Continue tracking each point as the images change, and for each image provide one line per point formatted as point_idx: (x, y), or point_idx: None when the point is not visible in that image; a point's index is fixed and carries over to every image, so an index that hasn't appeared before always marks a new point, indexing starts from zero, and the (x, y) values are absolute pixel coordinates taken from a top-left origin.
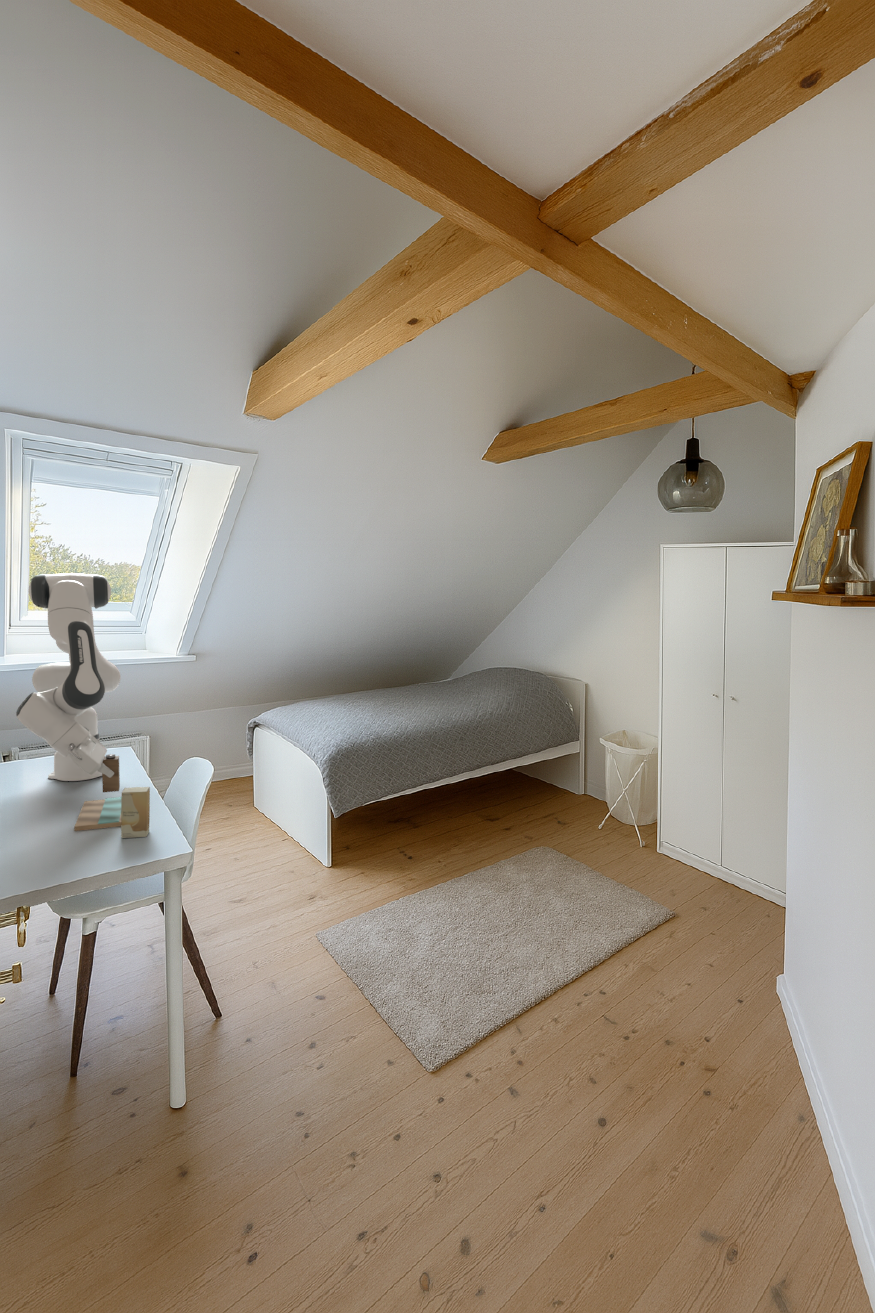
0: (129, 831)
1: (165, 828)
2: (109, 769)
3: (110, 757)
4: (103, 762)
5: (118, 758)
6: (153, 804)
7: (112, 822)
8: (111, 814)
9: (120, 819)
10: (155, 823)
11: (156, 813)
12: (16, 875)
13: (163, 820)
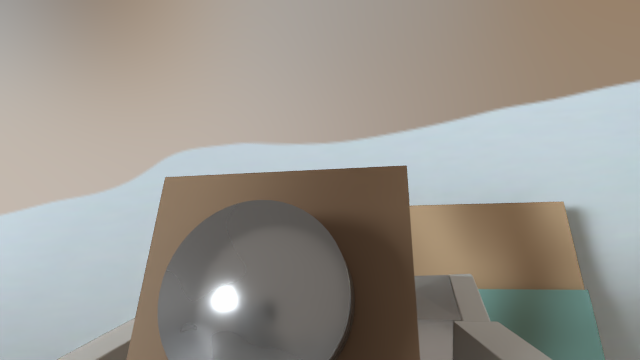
0: None
1: (628, 97)
2: (500, 323)
3: (351, 291)
4: None
5: (302, 176)
6: (268, 164)
7: (594, 325)
8: None
9: (537, 285)
10: (549, 138)
11: (403, 144)
12: None
13: (511, 112)
